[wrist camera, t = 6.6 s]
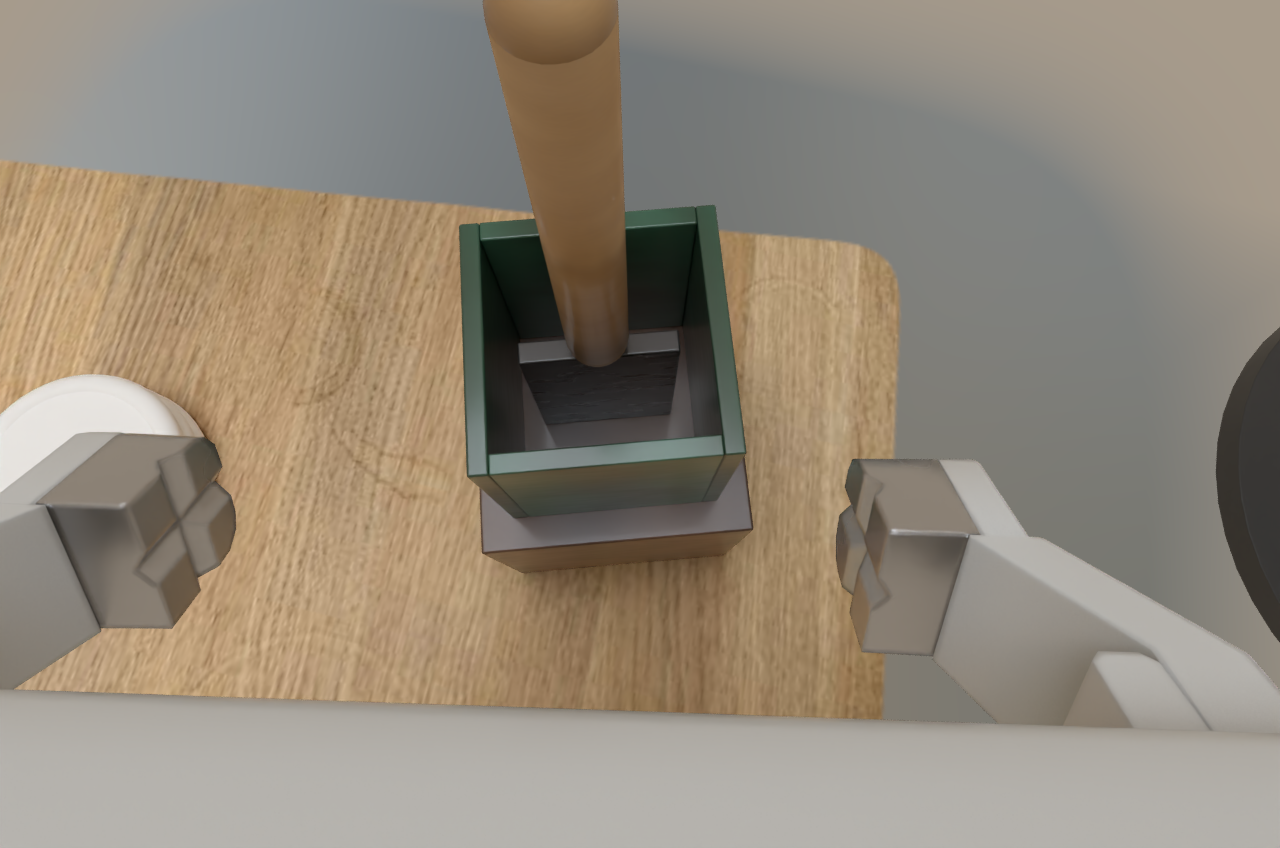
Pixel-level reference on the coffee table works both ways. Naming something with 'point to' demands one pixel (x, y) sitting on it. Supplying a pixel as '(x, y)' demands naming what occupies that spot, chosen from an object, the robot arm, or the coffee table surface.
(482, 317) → the open box
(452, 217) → the coffee table surface
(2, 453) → the white round tub
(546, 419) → the spatula
